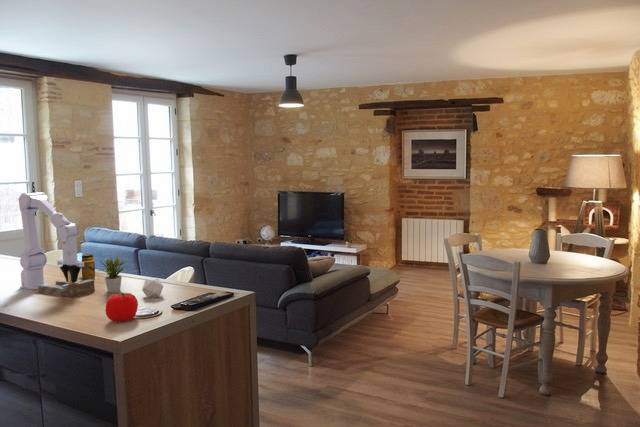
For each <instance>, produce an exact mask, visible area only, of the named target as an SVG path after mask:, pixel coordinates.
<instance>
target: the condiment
mask: <svg viewBox="0 0 640 427" xmlns="http://www.w3.org/2000/svg"><path fill="white" fill-rule="evenodd" d="M80 261H81V262H84V267H82V268H81V277H78V278H77V282H82V281H85V280H89V279H90V280H98V278H97V277H96V265H95V262H96V261H95V259H94V254H92V253H87V254H86V253H85V254H82V255H81V260H80Z"/></svg>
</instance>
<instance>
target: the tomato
mask: <svg viewBox="0 0 640 427" xmlns="http://www.w3.org/2000/svg"><path fill="white" fill-rule="evenodd" d="M138 308H139V302H138V299H137V298H136V296H135V295H134V294H133V293H128V292H121V293H117V292H115V294H112V295H110V296H109V298H108V299H107V301H106V302H105V316H106V317H107V319H109V321H111V322H114V323H126V322H129V321H131V320H133V319H134V318H135V316H136V315H137V312H138Z"/></svg>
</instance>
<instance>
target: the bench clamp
mask: <svg viewBox="0 0 640 427" xmlns="http://www.w3.org/2000/svg"><path fill="white" fill-rule="evenodd" d="M66 284H68V282H67V281H66V280H58V279H57V280H55V284H51V285H49V286H47V285H48V284H45V285H38V289H36V293H39V294H45V295H51V296H53V295H54V296H59V297H66V298H75V297H79V296H82V295H85V294H90V293H93V292H95V291H96V289H95V288H96V287H95V279H93V280H90V279H89V280H83V281H77V282H76V283H74V284H70V285H67V288H62V285H66Z"/></svg>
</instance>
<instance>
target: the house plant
mask: <svg viewBox="0 0 640 427" xmlns="http://www.w3.org/2000/svg"><path fill="white" fill-rule="evenodd" d="M118 256H119V254H117V256H116V258H114V259H115V260H114V262H113V258H112V257H111V255H109V258H110V259H108V258H107V257H104V260H105V261H104V262H103V261H99V262H100V263H101V264H102V265H103V266H104V267H105V269H98V270H97V271H99V272H100V271H101V272H105V273H107V276H106V277H104V280H105V285H106V289H107V293H117V292H120V291H121V287H122V286H121V285H122V277H123V276H121V275H119V274H120V273H122V271H123V272H126V273H127V271H126V267H127V265H126V266H122V265H123V264H127V263H128V262H127V261H128V260H129V257H128V258H124V259H122V260H121V261H120V259H121V256H119V257H118ZM121 266H122V267H121Z"/></svg>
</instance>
